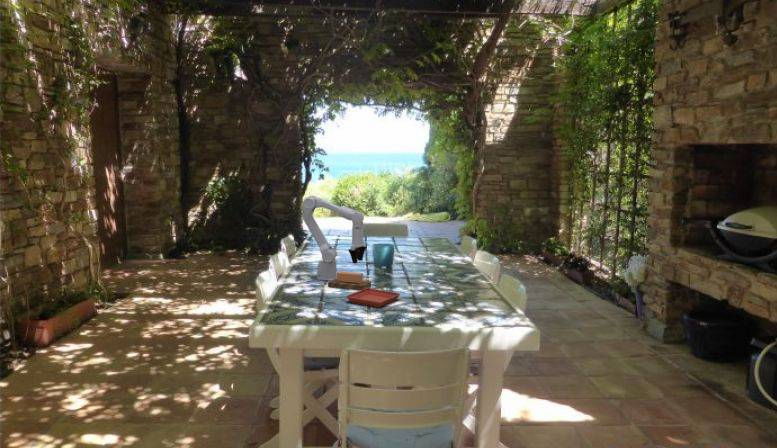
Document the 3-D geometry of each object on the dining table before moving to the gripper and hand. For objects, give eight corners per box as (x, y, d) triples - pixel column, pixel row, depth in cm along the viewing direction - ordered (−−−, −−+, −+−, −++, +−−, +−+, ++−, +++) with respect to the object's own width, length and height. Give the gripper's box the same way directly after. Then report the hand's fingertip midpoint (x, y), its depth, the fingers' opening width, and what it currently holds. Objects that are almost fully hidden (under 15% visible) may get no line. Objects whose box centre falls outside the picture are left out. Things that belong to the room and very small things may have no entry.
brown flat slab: (327, 287, 268) (327, 282, 268) (335, 283, 276) (335, 278, 276) (364, 291, 262) (364, 285, 262) (371, 286, 271) (371, 281, 270)
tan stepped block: (336, 286, 269) (336, 272, 268) (339, 285, 273) (339, 271, 272) (359, 289, 266) (360, 274, 265) (362, 287, 269) (362, 273, 268)
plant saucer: (367, 294, 258) (367, 287, 257) (401, 300, 249) (401, 293, 248) (345, 303, 242) (345, 296, 242) (380, 310, 233) (380, 302, 233)
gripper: (359, 238, 273) (359, 265, 275) (370, 234, 287) (369, 259, 289) (346, 237, 276) (346, 264, 277) (357, 233, 289) (357, 258, 291)
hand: (357, 261), depth 283 cm, fingers open, 7 cm apart
